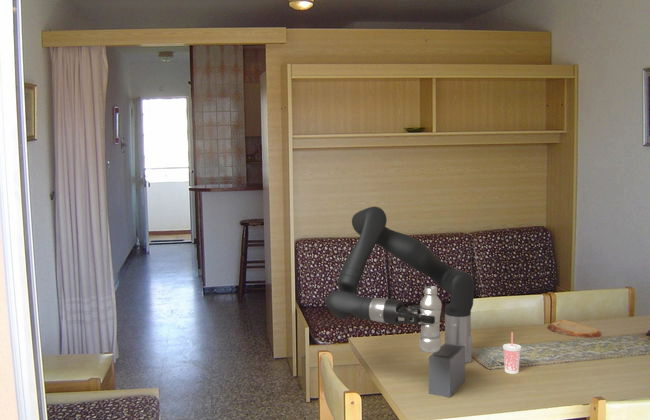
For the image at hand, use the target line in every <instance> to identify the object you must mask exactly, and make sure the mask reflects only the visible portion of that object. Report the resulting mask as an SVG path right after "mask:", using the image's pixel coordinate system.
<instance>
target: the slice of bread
mask: <svg viewBox="0 0 650 420" xmlns="http://www.w3.org/2000/svg"><path fill="white" fill-rule="evenodd" d="M546 328H547V330H549V331H551V332H552V333H553V332H554V333H556V334H559V335H564V336H571V337H576V338H585V339H586V338H592V339H593V338H599V337H601V333H600V330H599V329H598V328H595V327H592V326H589V325H585V324H582V323H578V322H574V321H569V320H567V319H559V320H555V321H554V322H552V323H550V324H549V325H547V327H546Z"/></svg>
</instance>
